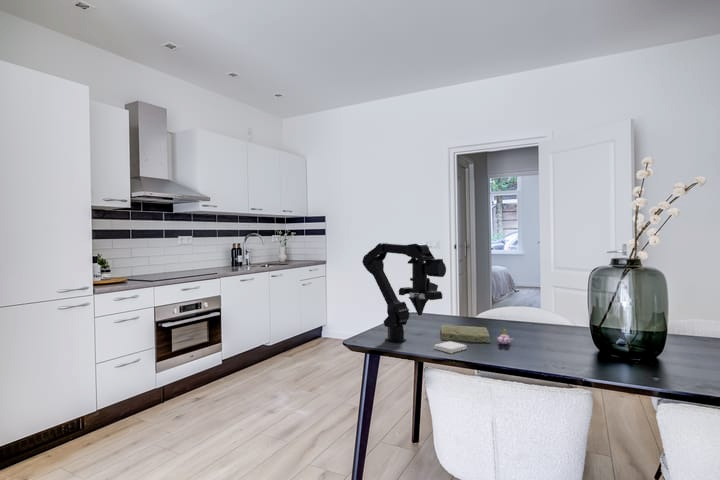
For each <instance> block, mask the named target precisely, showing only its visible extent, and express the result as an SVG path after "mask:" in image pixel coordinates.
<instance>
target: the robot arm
mask: <svg viewBox="0 0 720 480" xmlns="http://www.w3.org/2000/svg"><path fill="white" fill-rule="evenodd" d="M389 253H390V254H398V255H404V256H407V257H409V258H411V259H409V260H408V261H407V264H411V265H412V269H411V270H412V277H410V278H409V281H410V282H411V283H412V287H410V286H406V287H399V290H398V296H405V295H409V296H408V299H409V300H410V302H411V303H412V305H413V308H414V309H415V311H416V314H417V315H418V316H420V317H421V316H422V315H423V312H424V310H425V306H426V303H428V301H436V300H443V293H442V291H439V290H438V288H439V285H438V284H436V283H433V282H431V279H430V278H429V277H436V278H443V277H444V276H445V275H446V272H447V267H446V264H445V263H444V259H443V258H435V257H434V254H433V253H432V252H431V250H430V248H429V246H428V244H426V243H410V244H409V243H408V244H400V243H399V244H397V243H388V242H380V243H377V244H376V246H375V247H374V248H372V249H371V250H370V251H368V252H367V253H365V255H364V256H363V258H362V260H361V261H362V265H363V266H364V268H365V269H366V271H368V273H369V274H371V275H372V276H373V278H374V280H375V283H376V284H377V286H378V288H379V291H380V292H381V295H382V297H383V299H384V301H385V303H386V308H387V309H386V310H387V311H386V313H387V316H386V317H385V319H384V320H383V324H384V327H386V328H387V337H386V338H384V340H385V341H388V342H391V343H394V344H396V343H401V342H405V341H407V339H406V338H405V331H404V326H405V325H407V323H408V321H409V319H410V308H409V307H408V306H407V303H406V301H400V300H399V299H398V297H397V295H396V293H395V291H394V288H393V287H392V285H391V283H390V281H389V279H388V277H387V275H386V272H385V271H384V260H385V259H386V257H387V254H389Z"/></svg>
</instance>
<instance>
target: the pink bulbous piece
mask: <svg viewBox="0 0 720 480" xmlns="http://www.w3.org/2000/svg"><path fill="white" fill-rule="evenodd" d="M496 338H497V341H498V343H500V344H502V345H504V344H505V345H507V344H510V343H511V342H512V341H514V338H510V335H508V334H507V329H506V328H504V329H503V331H502V334H501V335H499V336H496Z"/></svg>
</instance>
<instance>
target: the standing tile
mask: <svg viewBox="0 0 720 480" xmlns="http://www.w3.org/2000/svg"><path fill="white" fill-rule="evenodd" d="M467 346H468V345H467V344H463V343H460V342H456V341H452V340H448V341H444V342H441V343H437V344H434V350H438V351H440V352H445V353H449V354H454V352H455V353H458V352H461V350H462V351H465V349H466V350H467V348H468V347H467ZM457 351H458V352H457Z"/></svg>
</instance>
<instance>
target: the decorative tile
mask: <svg viewBox="0 0 720 480" xmlns="http://www.w3.org/2000/svg"><path fill="white" fill-rule="evenodd" d="M440 336H441V341H454V342H465V341H466V343H484V342H486V343H488V344H489V343H491V337H490V334H489V330H488V329H487V327H484V326H463V325H448V324H443V325H441V327H440ZM486 343H485V344H486Z"/></svg>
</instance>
